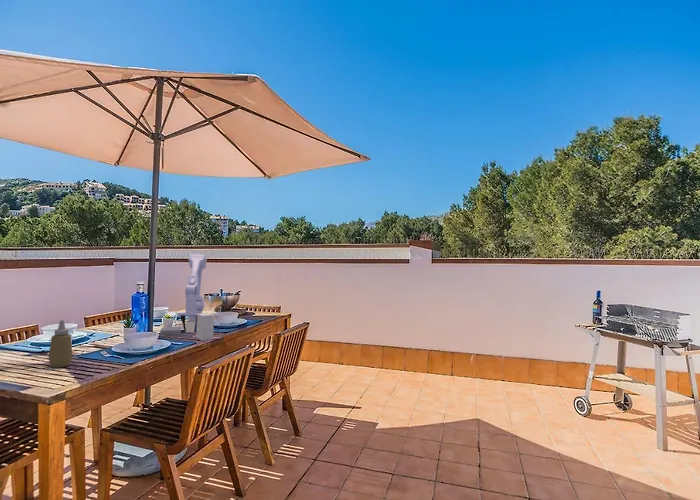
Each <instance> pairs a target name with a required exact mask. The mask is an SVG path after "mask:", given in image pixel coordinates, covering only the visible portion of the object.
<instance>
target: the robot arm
mask: <svg viewBox="0 0 700 500" xmlns="http://www.w3.org/2000/svg"><path fill="white" fill-rule="evenodd" d="M188 264H189V268H190V269H191V273H190V274H189V275H188V279H187V283H186V285H185V286H184V287H185V288H184V292H185V312H177V314H176V317H177V318H178V317H180V320H181V324H182V327H183V330H184V331H186V317H188V320H187V321H195V326H194V330H197V314H202V313H203V312H204V310H205V299H204V297H202V296H201V288H202V287H201V285H202V284H201V283H202V273H203V270H204V269H206V267H207V255H206V254H202V253H201V254H198V253H197V254H196V253H195V254H194V253H190V254H188Z"/></svg>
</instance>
